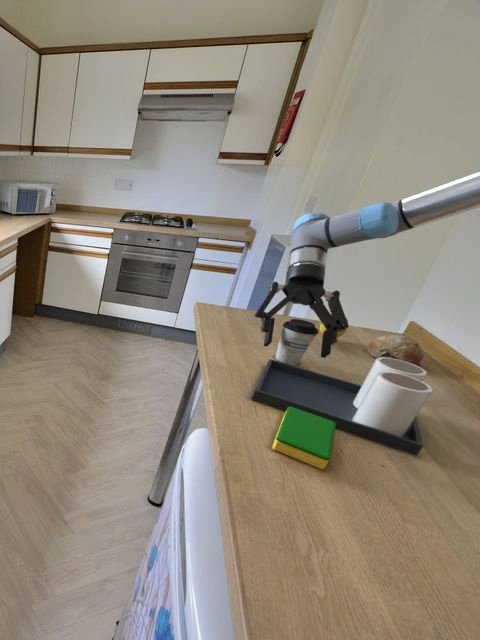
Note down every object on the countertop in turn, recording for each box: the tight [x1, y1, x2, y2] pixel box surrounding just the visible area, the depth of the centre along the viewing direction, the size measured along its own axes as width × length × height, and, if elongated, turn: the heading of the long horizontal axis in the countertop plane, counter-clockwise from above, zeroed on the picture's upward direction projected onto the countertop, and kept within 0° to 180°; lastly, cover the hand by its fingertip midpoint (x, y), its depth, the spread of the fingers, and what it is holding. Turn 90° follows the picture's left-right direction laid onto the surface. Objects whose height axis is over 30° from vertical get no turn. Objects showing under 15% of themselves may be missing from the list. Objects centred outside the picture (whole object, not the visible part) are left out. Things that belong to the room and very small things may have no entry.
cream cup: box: [353, 357, 428, 408], centre depth 79 cm, size 7×7×10 cm
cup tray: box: [251, 358, 424, 457], centre depth 83 cm, size 24×19×2 cm
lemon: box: [319, 315, 349, 339], centre depth 112 cm, size 6×6×8 cm
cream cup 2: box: [352, 371, 433, 437], centre depth 73 cm, size 7×7×10 cm
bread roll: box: [366, 334, 425, 366], centre depth 104 cm, size 10×10×8 cm
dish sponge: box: [271, 407, 336, 470], centre depth 71 cm, size 7×14×2 cm, turn 137°
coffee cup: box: [275, 318, 319, 366], centre depth 99 cm, size 7×7×10 cm
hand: (295, 349), depth 97 cm, fingers open, 11 cm apart
